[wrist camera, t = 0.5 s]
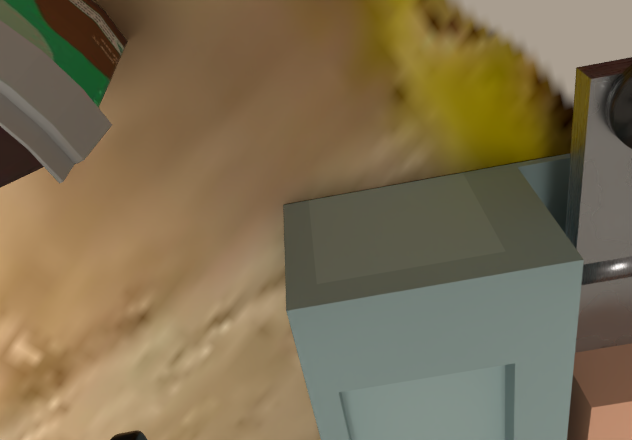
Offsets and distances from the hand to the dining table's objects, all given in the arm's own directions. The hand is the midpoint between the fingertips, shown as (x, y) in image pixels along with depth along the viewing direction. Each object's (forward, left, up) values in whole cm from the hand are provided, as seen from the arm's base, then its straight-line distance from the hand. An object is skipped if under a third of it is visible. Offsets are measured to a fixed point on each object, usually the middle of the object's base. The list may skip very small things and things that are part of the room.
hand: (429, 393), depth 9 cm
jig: (-14, -5, -14) cm, 20 cm away
